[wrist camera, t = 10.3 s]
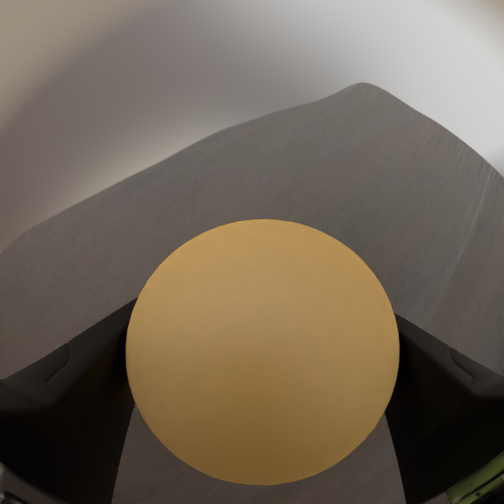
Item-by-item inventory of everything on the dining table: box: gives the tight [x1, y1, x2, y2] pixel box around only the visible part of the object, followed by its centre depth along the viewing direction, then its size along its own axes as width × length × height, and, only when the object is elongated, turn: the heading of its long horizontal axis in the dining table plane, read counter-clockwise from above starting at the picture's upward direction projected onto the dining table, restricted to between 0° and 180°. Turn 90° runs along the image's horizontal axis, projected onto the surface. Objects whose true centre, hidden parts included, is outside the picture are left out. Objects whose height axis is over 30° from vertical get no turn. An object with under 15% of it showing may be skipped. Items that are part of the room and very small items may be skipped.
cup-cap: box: [126, 219, 400, 485], centre depth 10 cm, size 7×7×9 cm
